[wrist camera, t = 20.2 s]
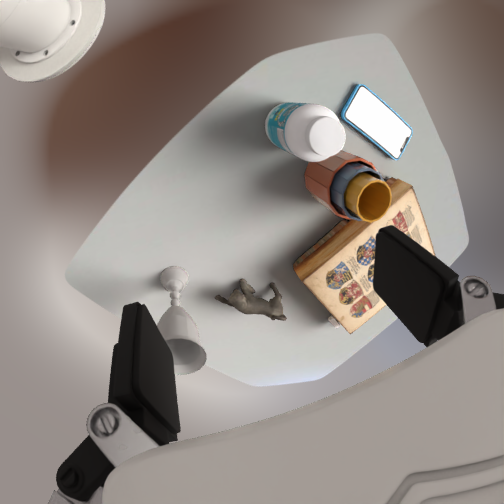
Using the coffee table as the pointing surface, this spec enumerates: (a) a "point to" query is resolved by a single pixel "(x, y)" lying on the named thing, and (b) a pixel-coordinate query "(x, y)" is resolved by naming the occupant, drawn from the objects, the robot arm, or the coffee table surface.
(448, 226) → the coffee table surface
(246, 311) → the dog figurine
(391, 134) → the smartphone
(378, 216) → the ochre cup
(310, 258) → the book
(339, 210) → the cup stack
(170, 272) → the chalice
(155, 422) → the robot arm
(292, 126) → the pill bottle
